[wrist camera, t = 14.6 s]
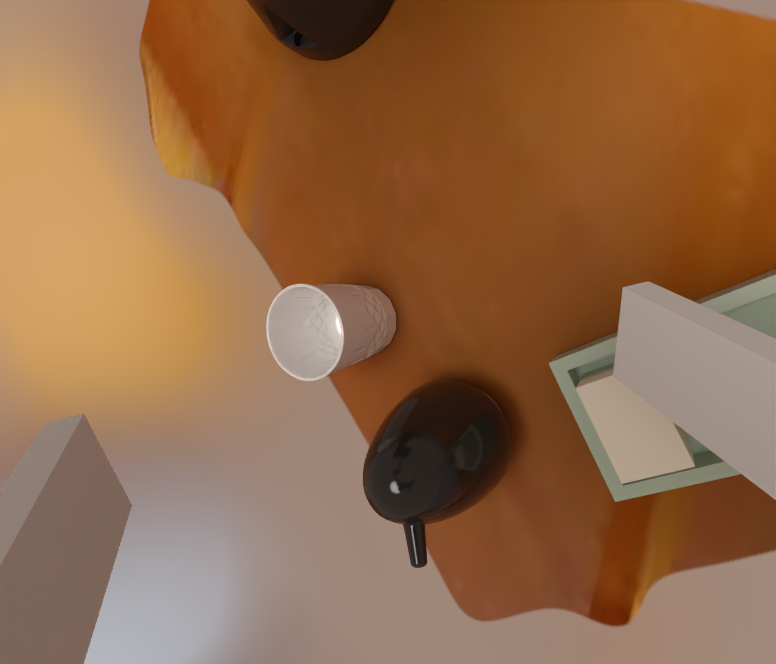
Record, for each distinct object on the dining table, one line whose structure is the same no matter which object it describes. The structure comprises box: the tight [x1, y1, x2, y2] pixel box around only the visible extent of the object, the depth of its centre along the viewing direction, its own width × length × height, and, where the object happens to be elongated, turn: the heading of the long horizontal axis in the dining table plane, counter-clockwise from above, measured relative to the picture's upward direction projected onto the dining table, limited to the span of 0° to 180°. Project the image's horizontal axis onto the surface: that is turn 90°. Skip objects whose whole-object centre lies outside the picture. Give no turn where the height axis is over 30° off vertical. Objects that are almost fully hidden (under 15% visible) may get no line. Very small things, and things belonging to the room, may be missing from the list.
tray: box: [548, 269, 776, 502], centre depth 32 cm, size 11×16×4 cm
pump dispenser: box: [363, 379, 512, 568], centre depth 36 cm, size 10×10×15 cm
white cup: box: [266, 284, 396, 381], centre depth 42 cm, size 8×8×10 cm
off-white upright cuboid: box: [576, 363, 695, 484], centre depth 33 cm, size 7×4×5 cm, turn 28°
